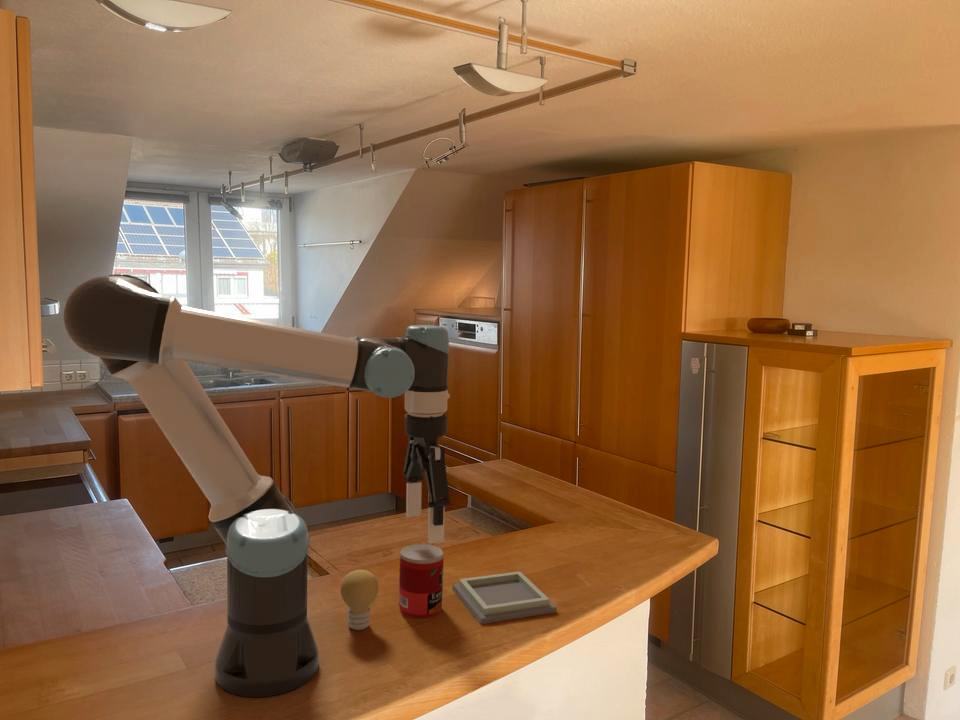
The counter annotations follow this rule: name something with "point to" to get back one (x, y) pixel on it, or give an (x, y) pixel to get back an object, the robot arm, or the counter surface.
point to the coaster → (502, 597)
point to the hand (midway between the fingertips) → (424, 528)
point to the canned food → (421, 581)
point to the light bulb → (359, 597)
